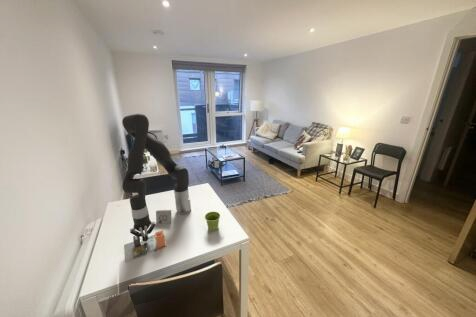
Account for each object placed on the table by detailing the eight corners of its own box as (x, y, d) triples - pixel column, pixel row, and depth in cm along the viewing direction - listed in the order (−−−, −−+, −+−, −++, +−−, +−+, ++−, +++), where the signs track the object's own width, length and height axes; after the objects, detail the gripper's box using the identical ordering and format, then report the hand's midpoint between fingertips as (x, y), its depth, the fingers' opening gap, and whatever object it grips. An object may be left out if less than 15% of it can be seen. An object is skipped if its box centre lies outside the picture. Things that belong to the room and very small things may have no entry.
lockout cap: (164, 240, 110) (162, 229, 108) (165, 245, 107) (163, 233, 104) (156, 243, 108) (154, 231, 106) (157, 248, 105) (155, 236, 103)
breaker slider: (140, 241, 110) (138, 233, 108) (141, 245, 106) (139, 237, 105) (134, 243, 108) (132, 235, 107) (135, 247, 105) (133, 239, 103)
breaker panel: (163, 234, 117) (162, 230, 116) (167, 248, 107) (166, 244, 106) (124, 246, 108) (123, 243, 107) (125, 264, 97) (124, 260, 96)
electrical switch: (156, 225, 125) (154, 212, 122) (159, 221, 130) (157, 208, 127) (171, 225, 125) (169, 212, 122) (173, 221, 130) (172, 208, 127)
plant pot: (202, 230, 120) (201, 218, 117) (209, 221, 128) (209, 210, 125) (216, 234, 117) (216, 222, 114) (223, 224, 125) (222, 213, 122)
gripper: (152, 206, 109) (157, 232, 115) (125, 213, 103) (131, 240, 109) (155, 213, 103) (159, 240, 109) (126, 222, 97) (132, 249, 103)
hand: (145, 240), depth 109 cm, fingers closed
